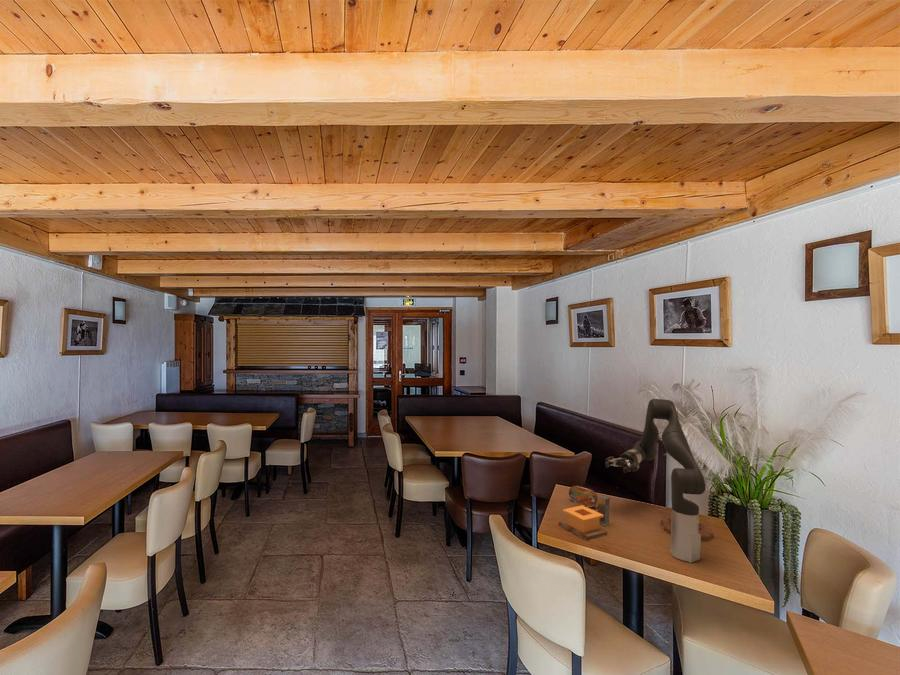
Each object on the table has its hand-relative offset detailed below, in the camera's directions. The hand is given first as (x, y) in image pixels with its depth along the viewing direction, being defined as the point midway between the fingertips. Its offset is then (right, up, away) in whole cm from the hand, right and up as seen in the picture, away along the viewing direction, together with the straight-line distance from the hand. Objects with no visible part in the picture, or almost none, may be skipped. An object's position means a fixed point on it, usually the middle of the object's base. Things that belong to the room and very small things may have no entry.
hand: (615, 468), depth 198 cm
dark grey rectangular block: (-8, -23, -6) cm, 25 cm away
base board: (-19, -23, -13) cm, 32 cm away
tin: (-9, -24, +17) cm, 31 cm away
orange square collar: (-19, -21, -13) cm, 31 cm away
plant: (+28, -25, -10) cm, 39 cm away
